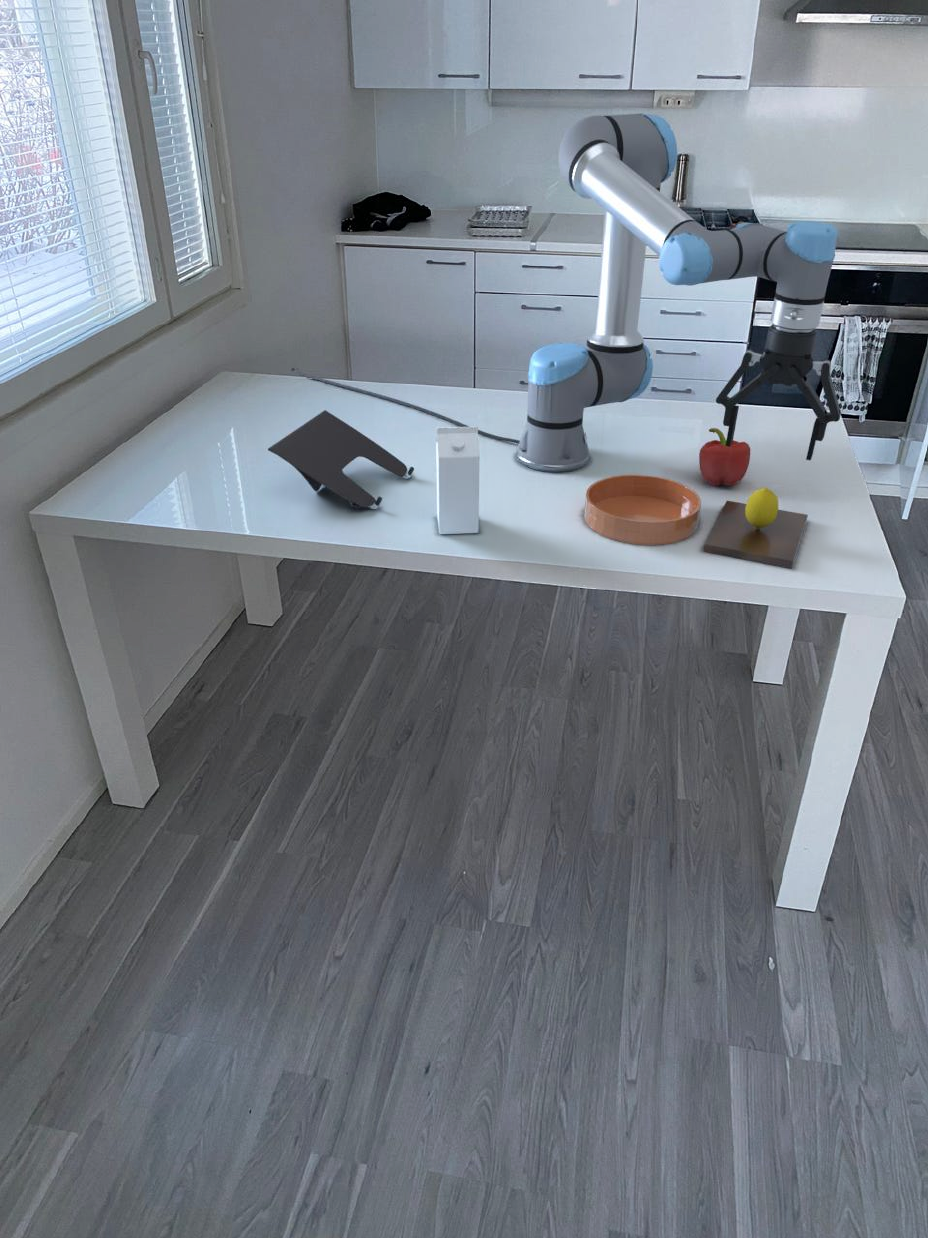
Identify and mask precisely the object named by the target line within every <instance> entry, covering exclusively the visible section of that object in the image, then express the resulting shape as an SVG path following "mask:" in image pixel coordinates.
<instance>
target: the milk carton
mask: <svg viewBox="0 0 928 1238" xmlns="http://www.w3.org/2000/svg"><path fill="white" fill-rule="evenodd" d="M478 430H479V427H478V426H469V427H461V426H451V427H450V426H447V427H443V426H442V427H436V440H435V448H436V449H435V452H436V455H435V457H436V458H435V459H436V518H437V527H438V533H439V535H456V534H457V535H458V534H459V535H460V534H478V533H479V528H480V527H479V526H480V525H479V521H480V443H479V441H480V440H479V433H478Z"/></svg>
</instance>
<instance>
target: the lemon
mask: <svg viewBox="0 0 928 1238" xmlns="http://www.w3.org/2000/svg"><path fill="white" fill-rule="evenodd" d="M745 504H746V509H745V513H746V518H747V520H748V522H749V523H750V524H751V525H753V526H755V528H756V529H761V528H762V527H766V526H768V525H770V524H771V523H772V522H773V521H774V520H775V518H776V516H777V513H778V510H779V499H778V497H777V495H776V493H774V492H773V491H772V490H770V489H769V488H768V487H763V488H759V489H757V490H754V492H752V493H751V494H750V496H748V499H747V502H746V503H745Z"/></svg>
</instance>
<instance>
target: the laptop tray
mask: <svg viewBox="0 0 928 1238" xmlns="http://www.w3.org/2000/svg"><path fill="white" fill-rule="evenodd" d="M267 451H268V452H271V453H272V454H274V455H276V456H278V457H279V458H280V459H283V460H284V461H285V462H287V463H288V464H290V465H291V466H292V467H293V468H294V469H295V470H296V471H297V472H298V473H300V475H301V476H302V477H303V478H304V479H305V480H306V482H307V483H308V484H309V486H310V487H311V489H312V490H313V492H318V491H319V490H320V489H321V487H322V486H324V487H326V488H327V489H329V490H331V491H332V492H334V493H336V494H337V495H339V496H341V497H342V498H344V499H346V500H347V501H349V502H348V503H349V504H350V507H352V508H356V509H360V507H362V508H370V509H372V510H376V509H378V508H379V506H381V505H380V504H381V503H382V500H383V497H381V496H378V497H377V498H376V497H374V496H373V495H372V494H370V492H368V491H367V490H366V489H364V488H363V487H362V486H360V485H359V483H357V482H355V481H354V480H353V479H351V478H350V477H349V476H347V475H346V473H344V471H343V469H344V468H345V467H347V466H348V465H349V464H350V463H351V462H353V461H354V460H355V459H357V458H365V459H367V460H369V461H371V462H372V463H373V464H375V465H377V466H379V467H381V468H383V469H384V470H386V471H388V472H390V473H392V474H394V475H396V476H398V477H400V478H403V479H409V478H410V477H411V476H412V474H413V472H414V470H415V468H414V467H413V466H410V467H409V468H408V467H407V465H406V464H405V463H404V462H402V460H400V459H399V458H397V457H396V456H394V455H393V454H392V453H391V452H389V451H388V450H387V449H385V448H383V447H382V446H380V444H378V443H377V442H375V441H373V440H372V439H371V438H369V437H368V436H366V435H364V433H362V432H361V431H359V430H357V429H356V428H354V427H353V426H351V425H350V424H348V423H346V422H345V421H343V420H342V419H340V418H338V417H337V416H335V415H334V414H332V413H331V412H329V411H327V410H326V409H325V410H323V411H321V412H320V413H318V414H317V415H315V416H314V417H312V418H311V419H309V420H308V421H307V422H305V423H303V424H302V425H300V426H298V428H296V429H294V430H293V431H292V432H290V433H289V434H287V435H286V436H284V437H282V438H281V439H280V440H278V441H277V442H275V443H273V444H272V445H271V446H269V447H268V448H267Z"/></svg>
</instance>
